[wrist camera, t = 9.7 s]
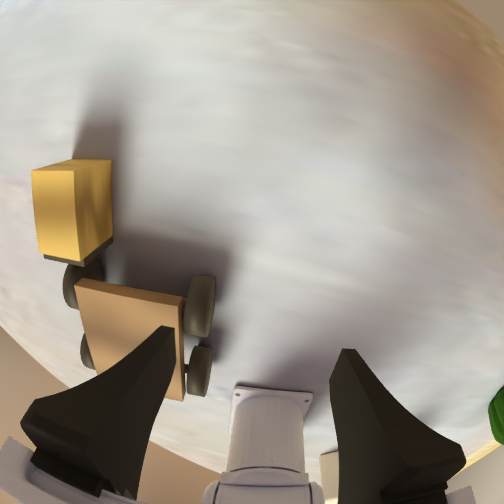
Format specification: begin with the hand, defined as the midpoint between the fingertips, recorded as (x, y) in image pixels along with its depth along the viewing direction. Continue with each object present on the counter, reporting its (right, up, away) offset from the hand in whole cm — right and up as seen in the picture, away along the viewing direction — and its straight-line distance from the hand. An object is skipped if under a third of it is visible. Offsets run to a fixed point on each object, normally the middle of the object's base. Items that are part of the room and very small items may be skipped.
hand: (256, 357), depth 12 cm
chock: (-13, +9, +9) cm, 18 cm away
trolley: (-9, -1, +12) cm, 15 cm away
